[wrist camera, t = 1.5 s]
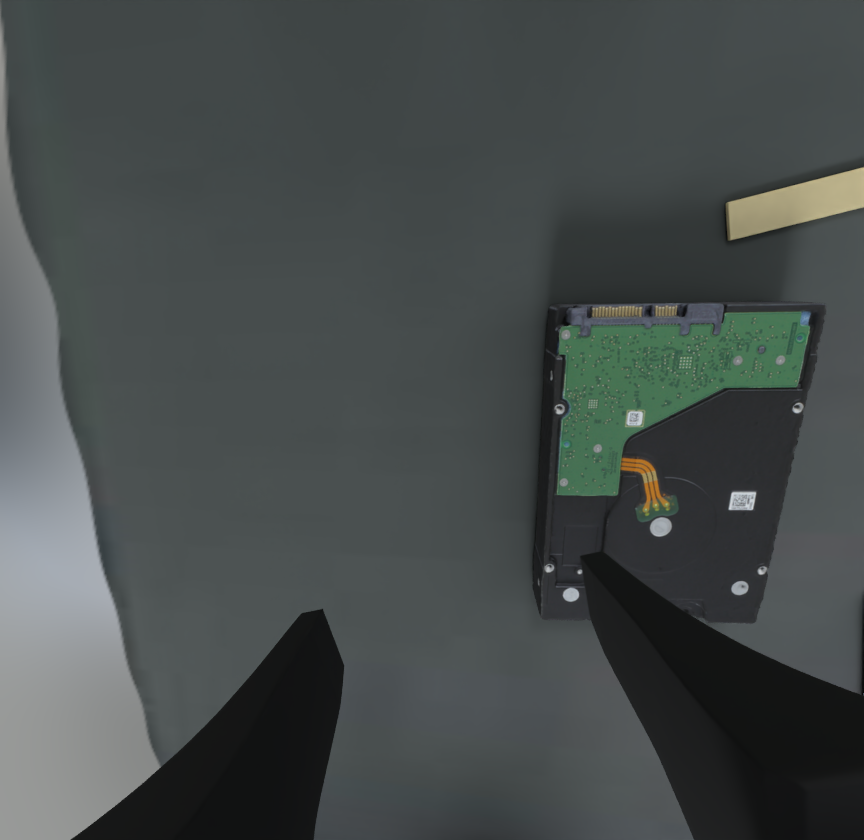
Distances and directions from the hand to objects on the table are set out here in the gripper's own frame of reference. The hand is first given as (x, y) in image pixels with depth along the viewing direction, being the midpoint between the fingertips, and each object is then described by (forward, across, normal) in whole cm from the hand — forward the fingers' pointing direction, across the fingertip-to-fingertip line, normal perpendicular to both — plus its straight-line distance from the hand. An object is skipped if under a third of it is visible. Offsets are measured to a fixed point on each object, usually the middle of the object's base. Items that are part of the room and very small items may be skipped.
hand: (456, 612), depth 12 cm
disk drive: (+10, -9, +2) cm, 14 cm away
